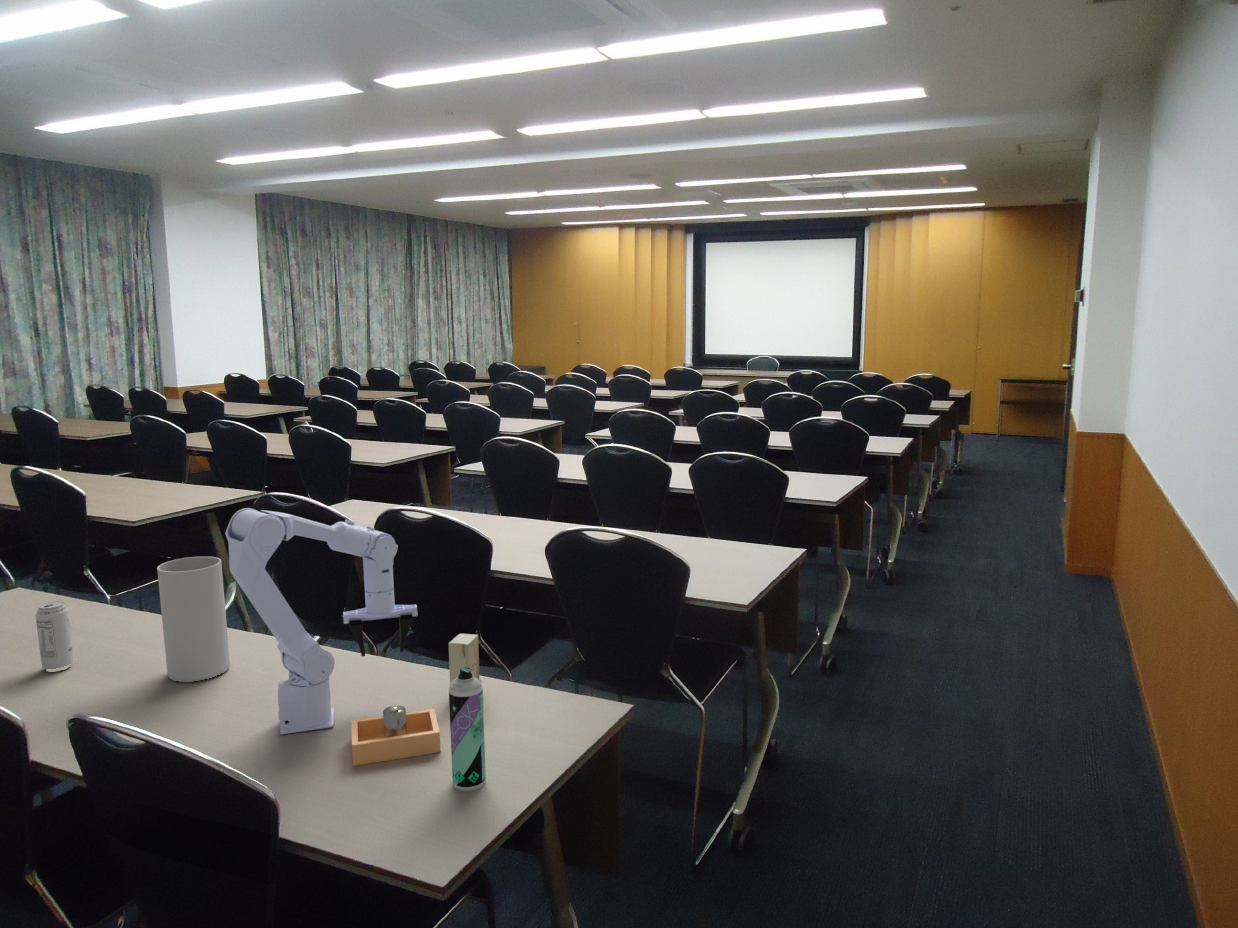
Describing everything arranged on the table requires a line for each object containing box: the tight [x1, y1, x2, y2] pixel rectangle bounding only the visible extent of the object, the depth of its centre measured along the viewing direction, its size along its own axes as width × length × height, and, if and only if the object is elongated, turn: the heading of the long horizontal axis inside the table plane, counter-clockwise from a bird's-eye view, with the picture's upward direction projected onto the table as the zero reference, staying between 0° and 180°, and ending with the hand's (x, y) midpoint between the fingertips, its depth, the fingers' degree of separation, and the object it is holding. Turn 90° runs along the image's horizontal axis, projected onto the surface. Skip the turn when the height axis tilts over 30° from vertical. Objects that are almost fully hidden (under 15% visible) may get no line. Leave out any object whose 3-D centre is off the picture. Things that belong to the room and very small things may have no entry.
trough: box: [351, 708, 442, 767], centre depth 152 cm, size 15×10×4 cm, turn 108°
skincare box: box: [448, 633, 480, 683], centre depth 172 cm, size 6×4×12 cm
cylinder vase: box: [156, 556, 231, 683], centre depth 184 cm, size 12×12×25 cm
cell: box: [382, 704, 407, 738], centre depth 151 cm, size 4×4×7 cm
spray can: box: [448, 667, 487, 792], centre depth 138 cm, size 6×6×20 cm
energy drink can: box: [35, 601, 75, 670], centre depth 188 cm, size 6×6×15 cm
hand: (382, 652), depth 172 cm, fingers open, 7 cm apart
